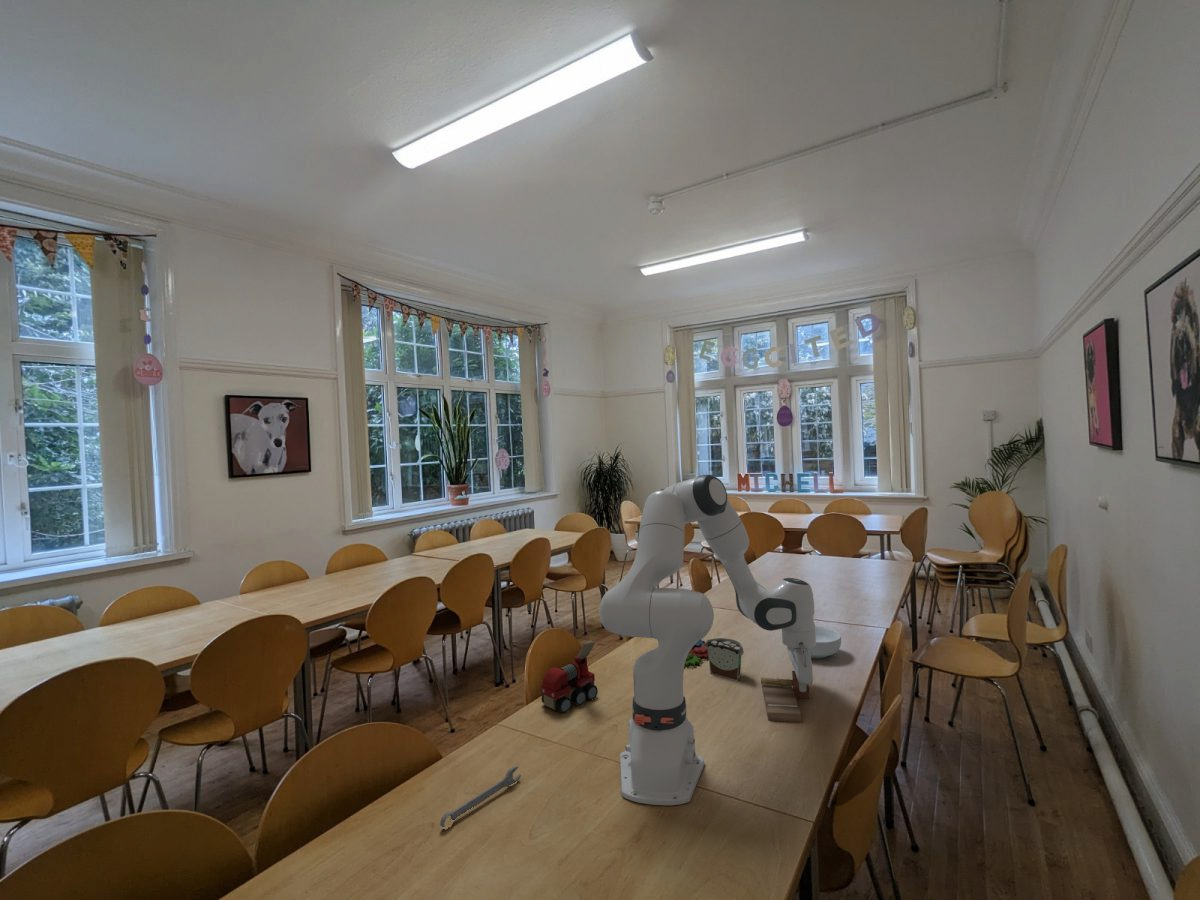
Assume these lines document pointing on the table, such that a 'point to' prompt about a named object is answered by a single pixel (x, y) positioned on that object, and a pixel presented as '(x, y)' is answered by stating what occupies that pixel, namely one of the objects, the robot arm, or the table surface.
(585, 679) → the toy fire truck
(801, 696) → the toy wooden hammer
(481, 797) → the combination wrench
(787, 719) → the walnut board
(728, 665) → the food container
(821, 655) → the cereal bowl
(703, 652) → the gear puzzle
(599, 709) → the table surface
